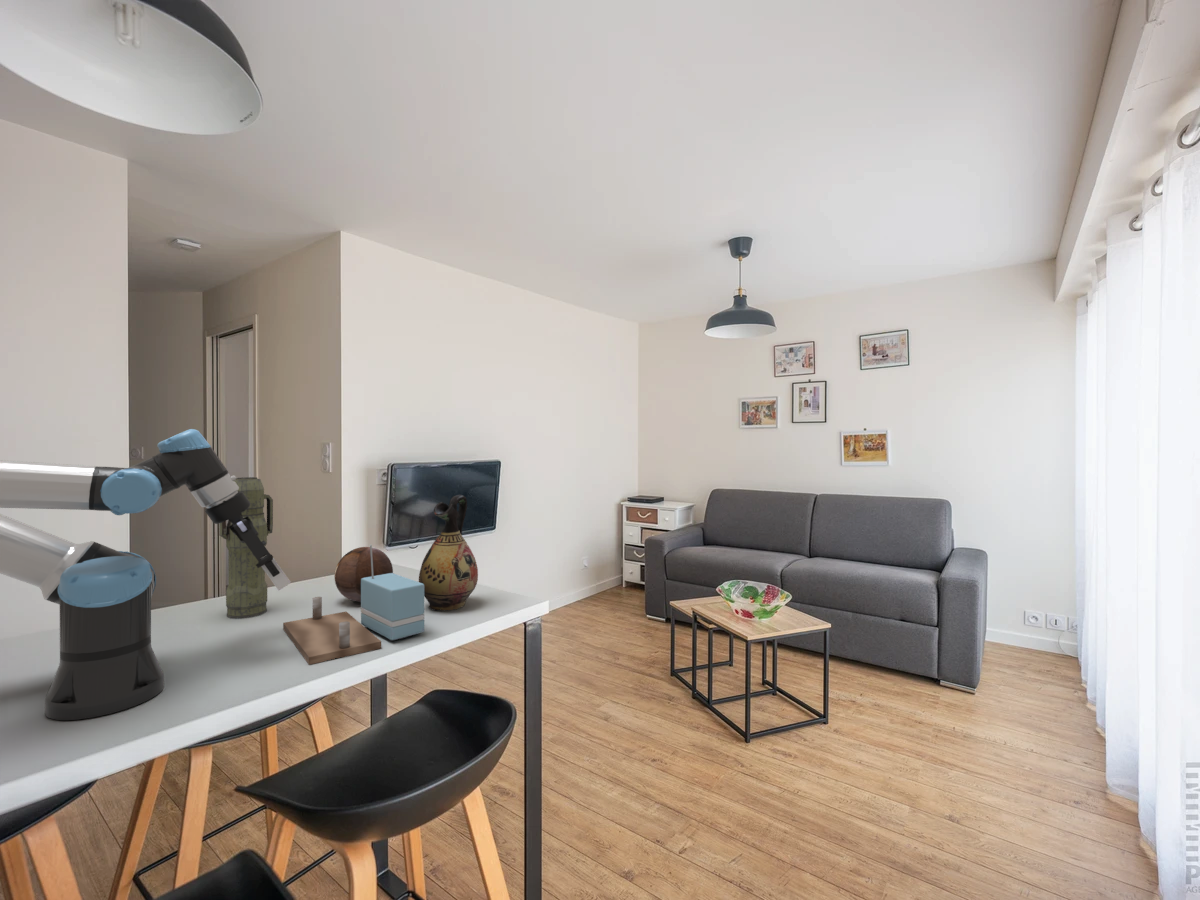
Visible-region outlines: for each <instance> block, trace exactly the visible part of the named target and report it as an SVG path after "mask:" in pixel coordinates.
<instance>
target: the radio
mask: <svg viewBox="0 0 1200 900" xmlns="http://www.w3.org/2000/svg"><path fill="white" fill-rule="evenodd" d="M369 547H370V553H371V570H372V576H371V577H366V578H362V579H361V602H360V624H362V625H363V626H364V627H365V628H366V629H367V630H372V631H373V632H375V633H377V634H379V635H381V636H383V637H385V638H386V639H388V640H389V641H390V642H394V641H398V639H399V640H402V639H405V638H409V637H408V636H410V637H412V635H413V636H416V635H418V634H421V633H423V632H424V633H425V596H424V584H422V583H420V582H419V581H416V580H414V579H411V578H408V577H405V576H402V575H399V574H396V573H394V572H393V573H388V574H383V575H377V576H374V575H373V558H372V547H373V545H372V544H371V543H370V544H369Z"/></svg>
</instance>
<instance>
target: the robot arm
mask: <svg viewBox="0 0 1200 900" xmlns="http://www.w3.org/2000/svg"><path fill="white" fill-rule="evenodd" d="M156 446H157V448H158V450H159V451H158V452H159V453H157V454H155V455H154V456H152V457H150V458H147V459H145V460H142V461H140V462H138V463H136V464H133V465H131V466H129V467H117V466H96V465H83V464H82V465H81V464H80V465H79V464H65V463H54V462H53V463H51V462H50V463H49V462H35V461H33V462H32V461H20V460H17V461H16V460H5V459H4V460H3V459H0V509H28V510H29V509H30V510H31V509H32V510H33V509H35V510H36V509H37V510H69V511H71V510H73V511H74V510H78V511H99V512H100V511H101V512H102V511H103V512H110V513H112V514H114V515H116V516H123V515H126V514H140V513H142V512H145V511H147V510H148V509H150V508H152V507H154V505H155V504H156V503H157V502H158V501H159V499H160V498H162V497H163V496H165V495H167V494H169V493H171V492H174V491H175V490H177V489H179V488H182V487H183V486H186V488H187V489H188V490H189V493H190V494H191V495H192V496H193V498H194V500H196V502H197V503H198V505H199V506H200V507H201V508H205V510H204V513H205V514H206V515H207V517H208V518H209V520H211V522H212V523H213V524H214V525H215V524H216V525H218V524H219V523H222V522H225V521H226V522H227V521H228V520H229V521H230V522H231V523H232V525H230V526H229V528H230V529H231V531H232V532H233V533H234V535H237V537H238V538H239V540H240V541H241V542H242V543H246V545H247V546H248V548H249V549H250V550H251V552H252V553H253V555H254V556H255V557H256V559H257V560H258V564H256V566H257V567H258V568H259V567H262V568H263V570H264V571H265V575H267V577H268V578H269V580H270V581H271V582H272V584H273V585H274V587H276V588H275V589H277V590H278V591H280V590H282V589H284V588H286V587H288V585H290V584H291V583H292V581H291V580H290V579H289V577H288V575H286V573H285V571H284V570H283V569H282V568H281V565H279V564H278V562H277V560H276V559H275V558H274V556H273V554H271V553H270V551H269V550H268V548H267V547H266V546H264V545H267V544H266V542H265V541H262V542H261V541H260V539H259V538H258V532H257V531H256V529H255V528H254V526H253V523H252V521H251V520H250V519H249V517H248V516H247V517H245V518H243V516H242V514H241V512H243V511H245V510H246V509H248V508H249V507H250V502H249V500H248V499H247V498H246V496H245V495H244V493H243V492H241V491H237V490H238V489H239V487H238V485H237V484H236V482H234V480H235V479H236V478H237V476H236V475H231V474H230V472H229V470H227V468H226V467H225V464H224V463H223V462H222V461H221V459H220V458H219V456H218V455H217V453H216V452H215V450H214V449H213V447H212V446H211V444H210V443H209V442H208V441H207V440H206V438H205V437H204V436H203V434H202V433H201V432H200V430H198V429H194V428H190V429H187V430H184V431H181V432H180V433H177V434H175V435H173V436H171V437H168V438H167V439H164V440H161V441H159V442H158V443H157V445H156ZM0 574H1V575H3V576H5V577H10V578H12V579H16V580H17V581H20V582H23V583H26V584H29V585H31V586H35V587H38V588H39V589H40V591H41V594H42V596H43V599H44V600H45V601H48V602H51V603H54V604H57V605H59V663H58V667H57V670H56V672H55V675H54V677H53V679H52V682H51V685H50V686H49V689H48V691H47V694H46V696H45V700H44V715H45V716H46V717H47V718H49V719H51V720H57V721H73V720H74V721H75V720H76V721H77V720H84V719H91V718H96V717H101V716H105V715H110V714H115V713H117V712H121V711H125V710H127V709H131V708H133V707H135V706H138V705H140V704H143V703H144V702H147V701H149V700H151V699H152V698H155V696H157V695H159V694H160V693H161V692H163V690H164V688H165V673H164V671H163V669H162V667H161V665H160V663H159V661H158V658H157V656H156V653H155V651H154V649H153V647H152V597H153V594H154V592H155V589H156V586H157V576H156V575H157V574H156V572H155V569H154V567H153V565H152V563H150V562H149V561H148V560H147V559H146V558H145V557H143V555H142V556H141V555H140V554H137V553H134V552H129V551H123V550H116V549H115V548H111V547H109V546H107V545H104V544H102V543H98V542H96V541H92V540H91V541H86V542H83V543H74V542H72V541H70V540H67V539H65V538H62V537H59V536H58V535H57V536H56V535H55V534H52V533H49V532H48V531H44V530H42V529H39V528H37V527H35V526H32V525H29V524H26V523H24V522H22V521H19V520H16V519H14V518H12V517H9V516H7V515H4V514H2V513H0Z"/></svg>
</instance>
